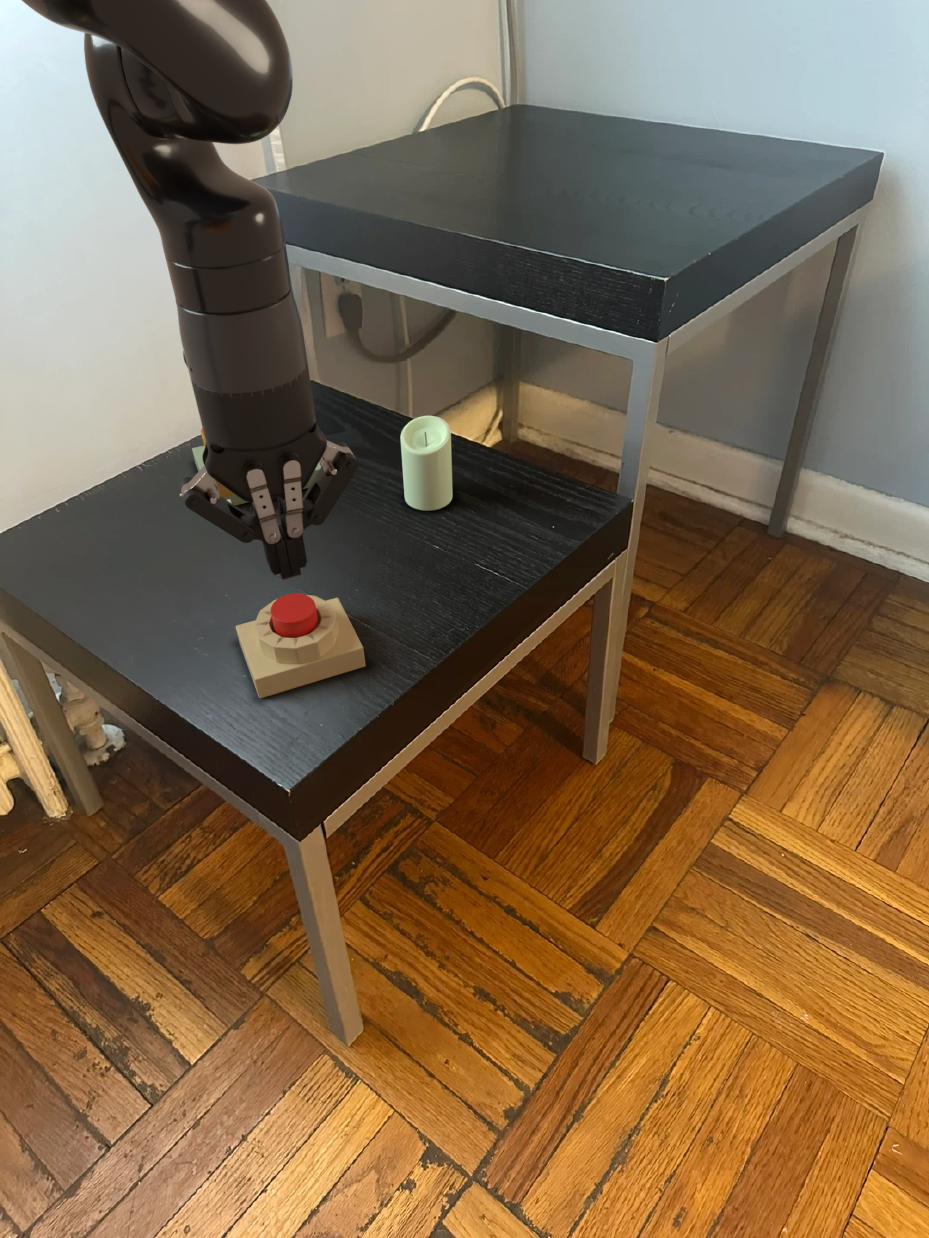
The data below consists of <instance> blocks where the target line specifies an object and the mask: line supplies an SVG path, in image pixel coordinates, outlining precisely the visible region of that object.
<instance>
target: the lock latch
mask: <svg viewBox="0 0 929 1238" xmlns="http://www.w3.org/2000/svg"><path fill="white" fill-rule="evenodd" d="M200 435H201V437H202V438H201V439H202V444H203V446H204V447H205V444H206V440H205V435H204V431H203V427H202V428H201V429H200ZM215 484H216V485H217V487H218V490H219V492H220V496H221V497H227V496H232V495H233V492H231V491H230V490H229V489H227V488H226V487H224V486H223V485H222V484H220V483H219V482H218V481H215Z"/></svg>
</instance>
